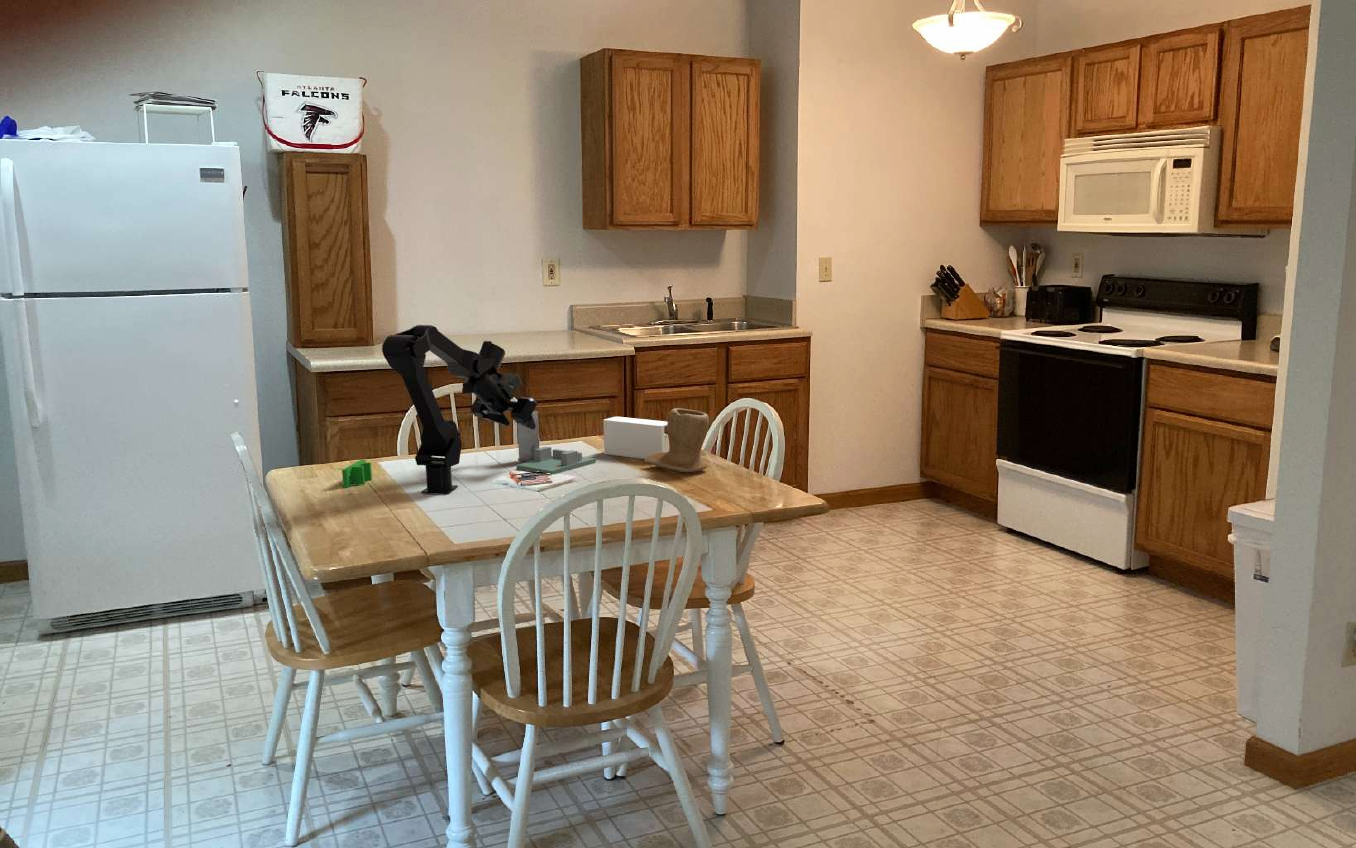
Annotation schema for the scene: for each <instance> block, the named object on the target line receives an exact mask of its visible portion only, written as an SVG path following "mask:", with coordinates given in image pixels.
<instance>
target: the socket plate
mask: <svg viewBox="0 0 1356 848" xmlns="http://www.w3.org/2000/svg"><path fill="white" fill-rule="evenodd" d="M596 460H597V459H596V458H594V457H587V456H583V454H582V452H580V451H579V452H578V450H573V449H571V450H565V449H559V448H554V449H552V447H551V446H542V447H539V448H537V449H535V460H534V461H530V462H526V463H523V462H522V463H519V464H516V470H520V471H526V470H528V471H527V472H531V471H539V472H543V473H550V474H553V475H557V474H560V473H564V472H567V471H570V470H574V469H577V468H581V467H585V466H588V465H591V464H592V465H593V464H596V463H597V462H596ZM543 473H542V474H543Z"/></svg>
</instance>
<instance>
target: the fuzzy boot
mask: <svg viewBox="0 0 1356 848" xmlns="http://www.w3.org/2000/svg"><path fill="white" fill-rule="evenodd" d="M666 422H667V426H666V429H667V435H668V452H657V453H653V454H651V455H649V456H647V457H646V458H645V459H643V461H644V462H645V463H647V464H650V465H651V466H652V465H653V466H656V467H659V468H661V469H667V470H669V471H670V470H671V471H674V472H681V473H694V472H701V471H703V470H705V469H707V468H708V463H706V462H705V461H704V460H703V459H702V458H701V450H702V447H703V445H704V442H705V440H706V436H707V434H708V430H709V427H710V417H709V414H708V413H706V412H702V411H698V410H692V409H686V408H678V407H677V408H676V407H675V408H673V409H671V410H670V412H669V413H668V417H667V421H666Z"/></svg>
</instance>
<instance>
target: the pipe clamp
mask: <svg viewBox="0 0 1356 848" xmlns="http://www.w3.org/2000/svg"><path fill="white" fill-rule="evenodd" d="M372 471H373V470H372V462H370V461H369V462H367V461H366V459H360V460H358V461H356V462H354V463H353V464H350V465H349V466H347V467H344V468H342V469H341V474H342V475H341V476H342V487H343V489H349V488H350V487H352V486H354V485H353V484H358V485H357V486H360V485H359V484H364V485H365V484H366V482H369V481H373V473H372ZM367 480H368V481H367ZM351 485H352V486H351Z"/></svg>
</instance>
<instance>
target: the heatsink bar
mask: <svg viewBox="0 0 1356 848" xmlns="http://www.w3.org/2000/svg"><path fill="white" fill-rule="evenodd" d="M532 416H533V419H534V422H535V425H536V428H535V429H534V430H532V429H530V428H527V427H525V426H523V425H520V424H518V423H516V425H517V427H516V429H517V446H518V458H517V463H518V462H519V463H522V464H523V463H526V462H530V461H534V460H535V449H537V448H540V435H539V434H540V433H539V432H540V429H539V411H538V410H534V411H533V413H532Z"/></svg>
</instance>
